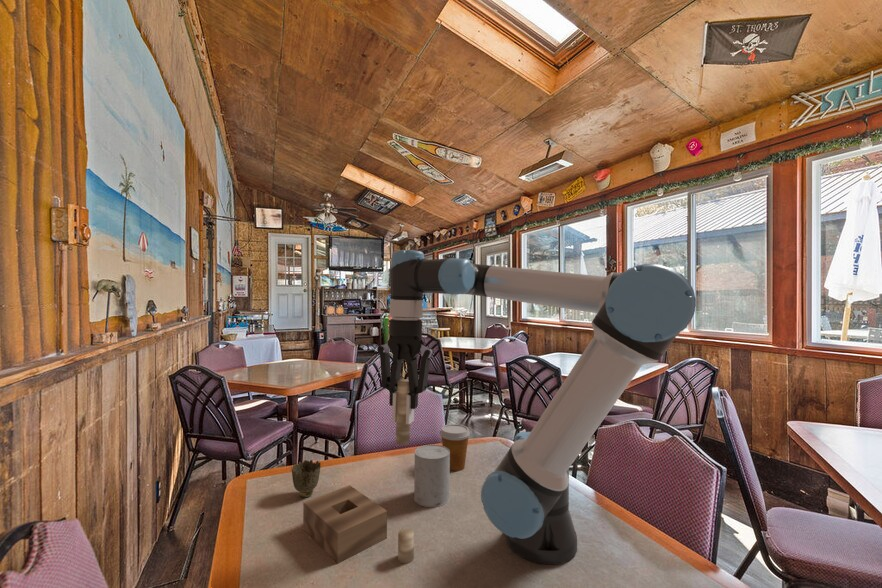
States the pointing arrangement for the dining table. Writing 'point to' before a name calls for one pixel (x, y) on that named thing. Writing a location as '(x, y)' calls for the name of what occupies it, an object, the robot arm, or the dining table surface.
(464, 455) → the disposable coffee cup
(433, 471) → the speckled white tub
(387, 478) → the dining table surface
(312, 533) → the hole block
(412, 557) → the short pin
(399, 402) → the long pin
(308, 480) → the olive hollow patterned container
